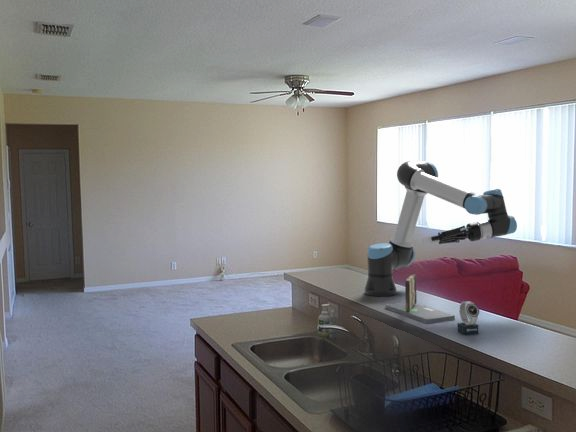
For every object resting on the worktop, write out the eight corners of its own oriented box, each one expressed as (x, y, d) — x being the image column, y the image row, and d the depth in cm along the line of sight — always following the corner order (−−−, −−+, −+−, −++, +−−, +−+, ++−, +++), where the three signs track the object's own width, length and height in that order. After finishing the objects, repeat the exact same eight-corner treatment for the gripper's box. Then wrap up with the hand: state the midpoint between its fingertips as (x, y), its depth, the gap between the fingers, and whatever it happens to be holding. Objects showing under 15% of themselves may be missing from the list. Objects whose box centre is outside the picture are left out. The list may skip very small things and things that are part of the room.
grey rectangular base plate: (385, 308, 229) (385, 304, 229) (411, 304, 234) (411, 301, 234) (426, 323, 203) (426, 319, 203) (454, 319, 209) (454, 315, 208)
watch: (467, 336, 185) (467, 305, 185) (454, 330, 193) (454, 300, 192) (482, 335, 187) (482, 303, 186) (469, 329, 194) (469, 299, 194)
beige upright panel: (410, 302, 230) (410, 274, 230) (416, 302, 229) (416, 274, 229) (404, 310, 216) (403, 280, 215) (410, 310, 215) (410, 281, 214)
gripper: (485, 233, 219) (428, 244, 218) (476, 244, 231) (422, 255, 230) (479, 216, 222) (423, 227, 221) (471, 229, 234) (417, 239, 233)
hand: (423, 241), depth 225 cm, fingers closed
